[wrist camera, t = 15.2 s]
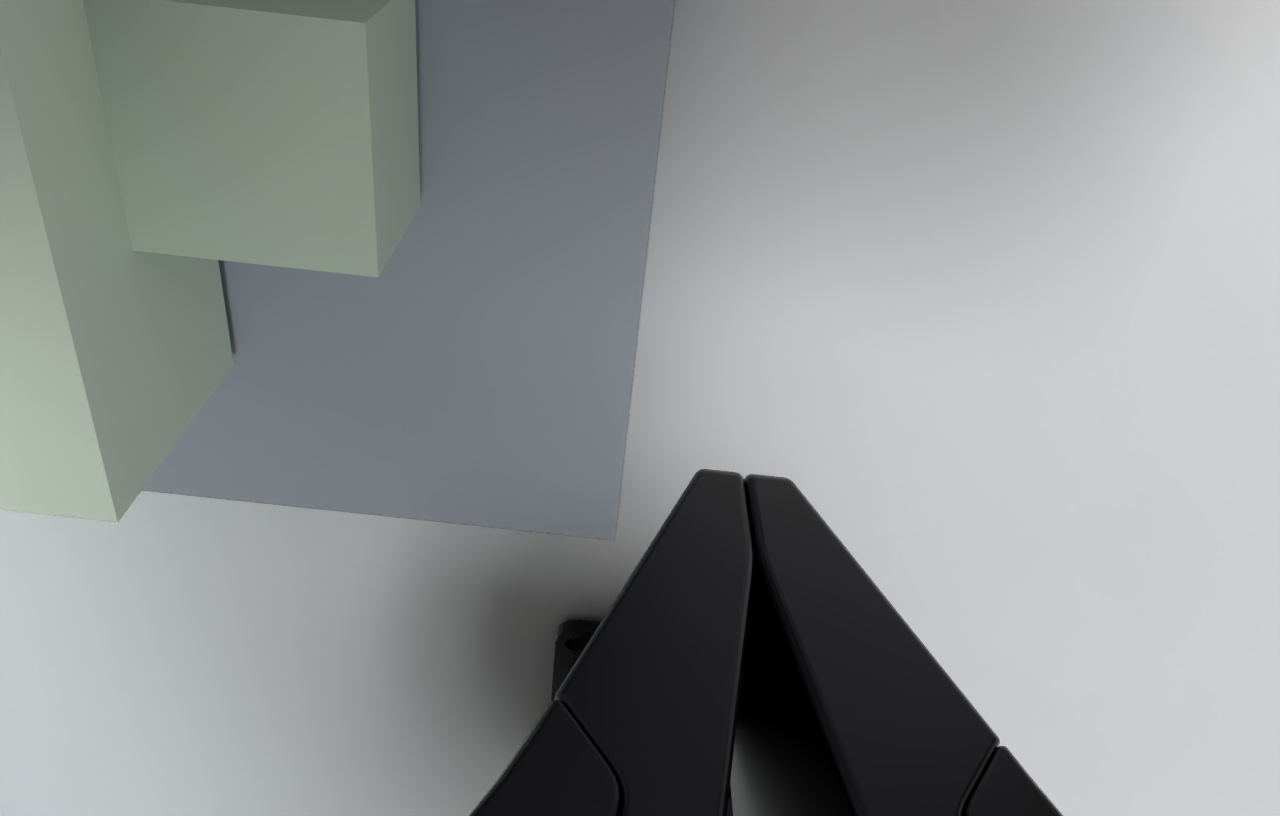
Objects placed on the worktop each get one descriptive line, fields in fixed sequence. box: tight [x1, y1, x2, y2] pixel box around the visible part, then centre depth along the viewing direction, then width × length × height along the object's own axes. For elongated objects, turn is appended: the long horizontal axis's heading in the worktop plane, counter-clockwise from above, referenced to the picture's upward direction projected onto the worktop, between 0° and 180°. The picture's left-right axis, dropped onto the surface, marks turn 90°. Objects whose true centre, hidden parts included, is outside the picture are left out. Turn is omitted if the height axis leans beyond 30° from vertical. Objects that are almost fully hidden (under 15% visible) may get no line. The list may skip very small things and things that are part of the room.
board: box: [142, 0, 675, 540], centre depth 17 cm, size 20×20×4 cm
